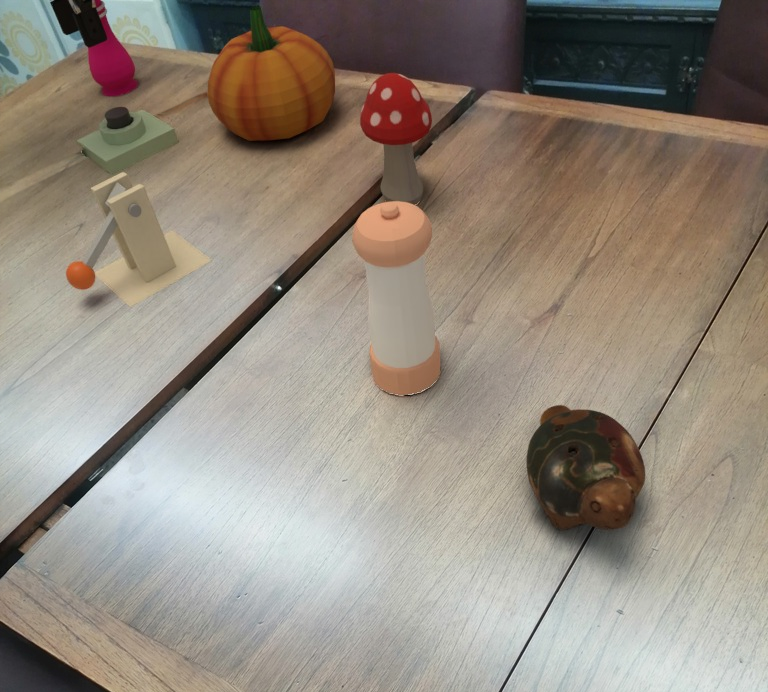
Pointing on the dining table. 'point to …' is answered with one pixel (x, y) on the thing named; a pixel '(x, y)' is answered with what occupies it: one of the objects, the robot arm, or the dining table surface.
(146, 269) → the wooden pivot stand
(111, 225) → the switch lever
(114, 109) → the button
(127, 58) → the pepper mill
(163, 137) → the control block
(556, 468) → the decorative turtle
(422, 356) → the salt shaker
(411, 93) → the decorative mushroom
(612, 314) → the dining table surface
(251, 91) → the pumpkin
